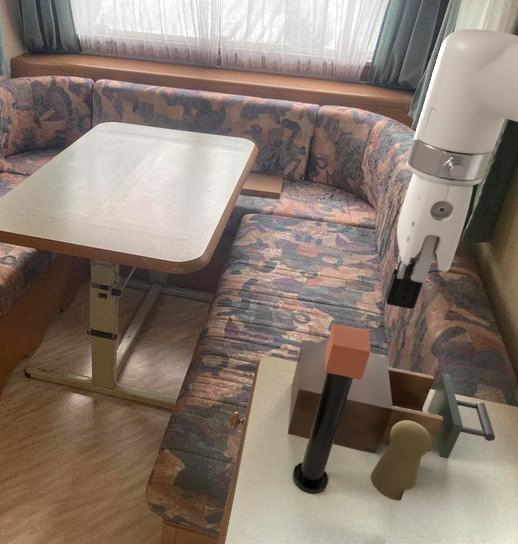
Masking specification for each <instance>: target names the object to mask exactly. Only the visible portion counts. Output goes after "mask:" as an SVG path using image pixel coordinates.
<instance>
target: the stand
mask: <svg viewBox="0 0 518 544" xmlns="http://www.w3.org/2000/svg"><path fill="white" fill-rule="evenodd" d="M352 380H353V378H351V377H346V376H341V375H337V374H332V373H327V375H326V378H325V382H324V386H323V389H322V393H321V397H320V400H319V404H318V407H317V411H316V415H315V418H314V422H313V426H312V429H311V433H310V437H309V439H308V441H307V444H306V448H305V452H304V454H303V459H302V461H301V462H299V463H297V464H296V465H295V466H294V468H293V471H292V481H293V484H294V485H295V486H296V487H297V488H298V489H299V490H300V491H302V492H304V493H306V494H309V495H318V494H321V493H323V492H325V491H326V489H327V487H328V484H329V475H328V473H327V471H326V468H327V464H328V461H329V458H330V455H331V451H332V448H333V446H334V444H333V442H334V439H335V435H336V432H337V429H338V426H339V422H340V419H341V416H342V413H343V409H344V406H345V403H346V400H347V396H348V393H349V390H350V387H351V384H352Z"/></svg>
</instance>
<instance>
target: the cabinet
mask: <svg viewBox="0 0 518 544" xmlns="http://www.w3.org/2000/svg"><path fill="white" fill-rule="evenodd" d="M326 347H327V343H321V342H317V341H312V340H307V339H302V340H301V344H300V349H299V352H298V357H297V362H296V365H295V371H294V374H293V379H292V384H291V394H290V404H289V416H288V427H287V435H291V436H296V437H299V438H304V439H308V440H309V437H310V433H311V429H312V426H313V422H314V418H315V415H316V411H317V407H318V404H319V400H320V397H321V393H322V389H323V386H324V382H325V378H326V375H327V372H325V353H326ZM388 367H389V364H388V356H387V355H383V354H378V353H372V352H370V355H369V358H368V362H367V365H366V368H365V371H364V374H363V377H362V380H361V379H356V378H353V380H352V384H351V387H350V390H349V393H348V396H347V400H346V403H345V406H344V409H343V413H342V416H341V419H340V422H339V426H338V429H337V432H336V435H335V439H334V442H333V446H334V445H335V446H338V447H343V448H348V449H351V450H356V451H361V452H365V453H368V454H374V455H377V454H378V452H379V449H380V446H381V444H382V443H381V441H382V438H383V435H384V432H385V430H386V427H387V424H388V422H389V419H390V416H391V414H392V411H393V405H392V396H391V388H390V380H389V371H388Z"/></svg>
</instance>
